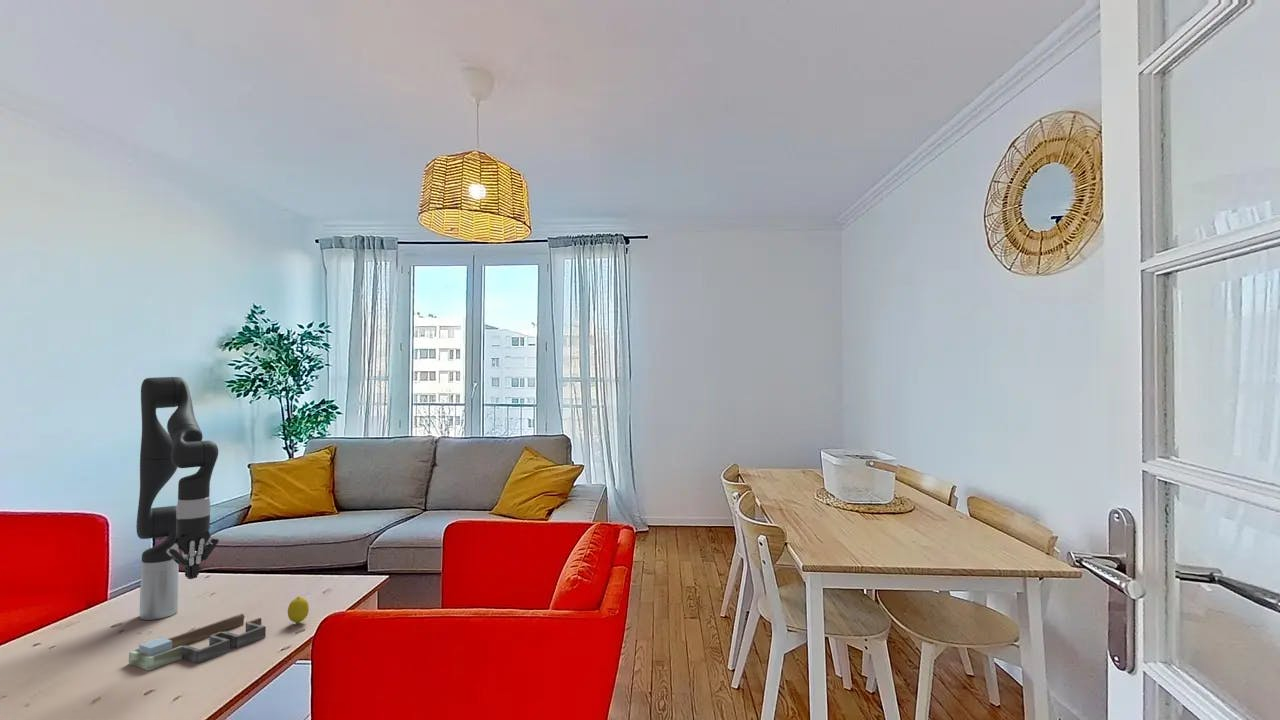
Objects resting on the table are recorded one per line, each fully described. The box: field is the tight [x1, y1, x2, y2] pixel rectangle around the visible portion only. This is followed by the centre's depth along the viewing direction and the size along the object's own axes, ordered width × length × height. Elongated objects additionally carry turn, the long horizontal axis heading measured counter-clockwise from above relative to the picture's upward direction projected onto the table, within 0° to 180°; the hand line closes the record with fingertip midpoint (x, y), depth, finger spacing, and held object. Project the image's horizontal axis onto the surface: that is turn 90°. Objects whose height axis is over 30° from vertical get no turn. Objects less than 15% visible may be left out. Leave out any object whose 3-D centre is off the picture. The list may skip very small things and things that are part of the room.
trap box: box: [128, 613, 267, 671], centre depth 169 cm, size 16×29×3 cm, turn 156°
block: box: [138, 637, 172, 656], centre depth 160 cm, size 5×5×5 cm
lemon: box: [287, 596, 310, 625], centre depth 186 cm, size 6×6×8 cm
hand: (191, 578), depth 169 cm, fingers closed
